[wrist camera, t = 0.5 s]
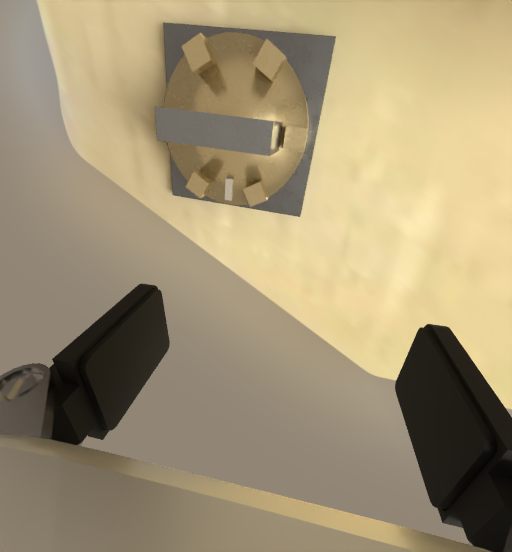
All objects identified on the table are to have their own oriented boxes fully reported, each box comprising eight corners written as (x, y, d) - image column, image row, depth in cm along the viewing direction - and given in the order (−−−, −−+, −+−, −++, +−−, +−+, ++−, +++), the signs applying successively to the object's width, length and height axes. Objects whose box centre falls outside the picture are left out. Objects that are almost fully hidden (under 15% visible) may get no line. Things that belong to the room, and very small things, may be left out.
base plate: (171, 28, 33) (163, 22, 31) (334, 41, 30) (335, 36, 28) (178, 192, 43) (172, 195, 41) (300, 213, 40) (300, 216, 38)
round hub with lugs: (171, 34, 31) (114, -2, 23) (324, 47, 29) (325, 13, 20) (177, 189, 40) (139, 206, 32) (294, 209, 38) (286, 232, 29)
